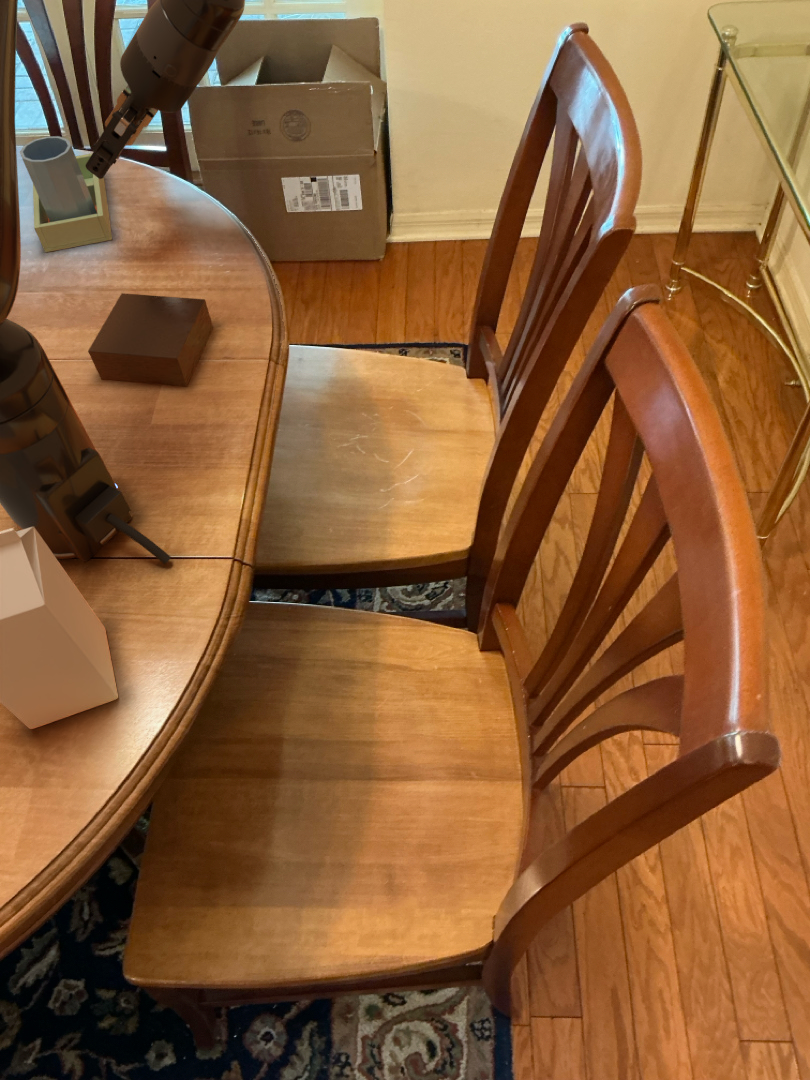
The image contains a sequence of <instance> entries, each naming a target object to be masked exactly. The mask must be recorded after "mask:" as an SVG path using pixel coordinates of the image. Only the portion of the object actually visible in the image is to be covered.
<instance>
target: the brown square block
mask: <svg viewBox="0 0 810 1080" xmlns="http://www.w3.org/2000/svg"><path fill="white" fill-rule="evenodd" d="M213 330H214V325H213V322H212V318H211V315H210V311H209V308H208V303H207V300H206V299H205V298H193V297H192V298H190V297H181V296H180V297H179V296H177V297H176V296H163V295H151V294H139V293H138V294H137V293H124V292H123V293H122V292H121V293H120V295H119V297H118V298H117V300H116V302H115V304H114V306H113V307H112V309H111V311H110V312H109V314H108V315H107V318H106V320H105V321H104V323H103V325H102V327H101V328H100V330H99V331H98V333H97V334H96V337H95V338H94V340H93V342H92V344H91V345H90V347H89V348H88V351H87V352H88V355H89V356H90V358H91V361H92V363H93V365H94V367H95V369H96V372H97V373H98V376H99V378H100V379H101V380H107V381H108V380H110V381H120V382H132V383H144V384H153V385H154V384H155V385H166V386H177V387H179V386H180V387H188V385H189V383H190V380H191V377H192V376H193V373H194V371H195V369H196V366H197V364H198V362H199V360H200V358H201V356H202V354H203V351H204V350H205V347H206V345H207V343H208V340H209V338H210V336H211V334H212V331H213Z"/></svg>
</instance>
